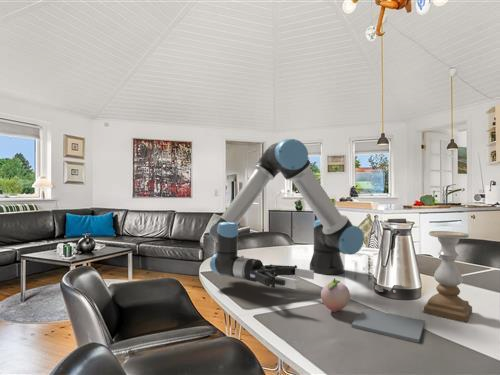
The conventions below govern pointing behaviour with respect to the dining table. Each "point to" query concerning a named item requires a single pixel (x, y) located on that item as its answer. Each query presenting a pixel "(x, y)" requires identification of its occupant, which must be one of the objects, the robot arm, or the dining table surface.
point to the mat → (390, 324)
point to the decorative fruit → (335, 295)
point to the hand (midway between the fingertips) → (305, 279)
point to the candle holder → (448, 281)
